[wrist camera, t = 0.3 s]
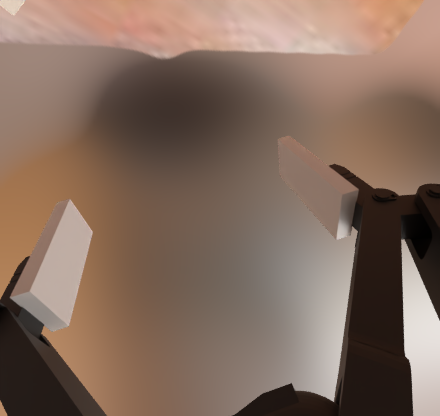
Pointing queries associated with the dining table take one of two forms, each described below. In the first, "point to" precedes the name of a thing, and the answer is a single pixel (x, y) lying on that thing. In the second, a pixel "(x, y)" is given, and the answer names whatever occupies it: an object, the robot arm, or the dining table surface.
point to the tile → (11, 5)
